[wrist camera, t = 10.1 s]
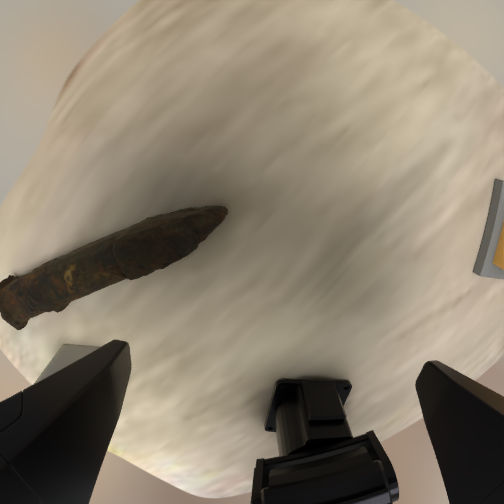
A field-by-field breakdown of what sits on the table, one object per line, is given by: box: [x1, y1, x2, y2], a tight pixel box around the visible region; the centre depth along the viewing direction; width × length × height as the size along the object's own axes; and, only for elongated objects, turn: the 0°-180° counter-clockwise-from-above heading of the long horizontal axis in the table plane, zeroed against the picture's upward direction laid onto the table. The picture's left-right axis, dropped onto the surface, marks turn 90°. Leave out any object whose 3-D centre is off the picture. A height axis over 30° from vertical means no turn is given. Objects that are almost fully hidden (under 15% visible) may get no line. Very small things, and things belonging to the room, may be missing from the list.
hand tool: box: [0, 206, 228, 330], centre depth 17 cm, size 19×4×5 cm, turn 107°
